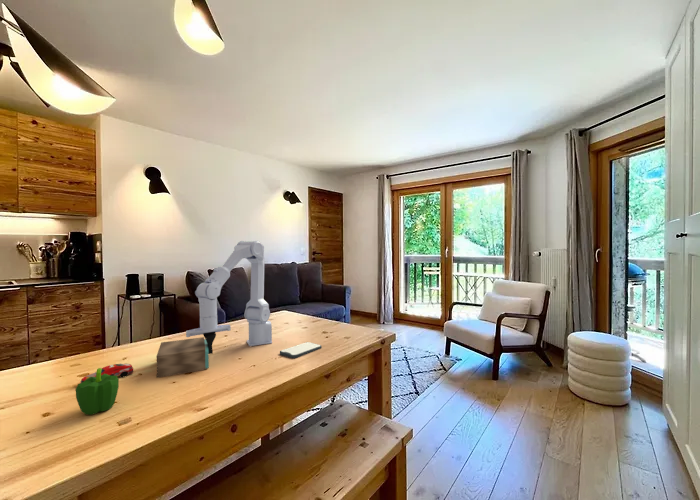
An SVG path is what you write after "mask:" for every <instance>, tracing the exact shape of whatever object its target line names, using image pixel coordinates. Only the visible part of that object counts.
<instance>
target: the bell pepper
mask: <svg viewBox="0 0 700 500" xmlns="http://www.w3.org/2000/svg"><path fill="white" fill-rule="evenodd" d="M102 368H103V367H98V368H96V371H95V372H96V377H89V378H88V379H86V380H85V381H84V382H82V383H80V382H79V383H77V386H76V387H75V399H76V401H77V404H78V407H79V409H80V411H81V412H82V413H83V414H84V415H86V416H91V415H95V414H98V413H99V412H105V411H109V410H110V409H112V407H114V405H115V402H116V399H117V395H118V391H119V385H120V383H119V382H120V381H119V378H118V377H117V376H110V375H108V374H103V375H101V370H102Z"/></svg>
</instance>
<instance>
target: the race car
mask: <svg viewBox="0 0 700 500" xmlns="http://www.w3.org/2000/svg"><path fill="white" fill-rule="evenodd" d="M101 368H102V370H101V375H103V374H108V375H110V376H117V377H118V379H119V378H121V377H122V378H126V377H127V376H129V375H131V374H133V373H134V367H133V365H132V364H131V363H114V364H110V365H107V366H104V367H101ZM125 376H126V377H125ZM89 377H96V371H95V372H92V373H89V374H87V375H85V376H83V377H82V378H81V380H80V382H79V384H80V383H82V382H84V381H85V380H86V379H88V378H89Z"/></svg>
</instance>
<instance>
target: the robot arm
mask: <svg viewBox="0 0 700 500" xmlns="http://www.w3.org/2000/svg"><path fill="white" fill-rule="evenodd" d="M244 259H246V260H247V261H248V262H249V263H250V266H251V267H250V269H251V270H250V299H249V301H248V302H246V304H245V310H244V318H245V320H246V322H247V323H248V339H247V340H246V343H247V344H248V347H253V346H260V345H266V344H267V345H268V344H272V343H273V337H272V336H273V333H272V330H273V328H272V322H271V320H269V319H270V317H271V311H270V304H269V303H268V302H267V301H266V300H265V299H264V296H265V246H264V245H263V244H262V242H260V241H259V240H253V241H252V240H251V241H246V240H245V241H244V240H241V241H239V242H237V244H236V245H235V246H234V248H233V251H232V253H231V254H230V255H229V256H228V258H227V260H226V261H225V262H224V263H223V264H222V266H218V267H214V269H213V271H212V273H211V274H210V275H209V276H208V277H207V278H206V279H205V281H204V282H202V283H200V284H199V285H198V286H197V287H196V290H195V291H194V294H195V296H196V298H198V300H197V301H198V302H199V327H198V328H192V329H189V330H186V331H185V337H186V338H190V337H195V336H200V335H203V337H204V339H206V341H207V344H208V351H209V355H211V354H214V353H213V343H214V341H215V339H216V338H217V337H216V336H217V333H221V332H226V331H227V332H230V331H231V329H232V328H231V324H221V325H219V324H218V297H219V296H220V295H221V290H222V289H223V286H224V284H225V283H226V282H227V281H228V280H229V278H230V277H231V271H232V270H233V269H234V268H236V266H237V265H238V264H239V263H240V262H241V261H242V260H244Z"/></svg>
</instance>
